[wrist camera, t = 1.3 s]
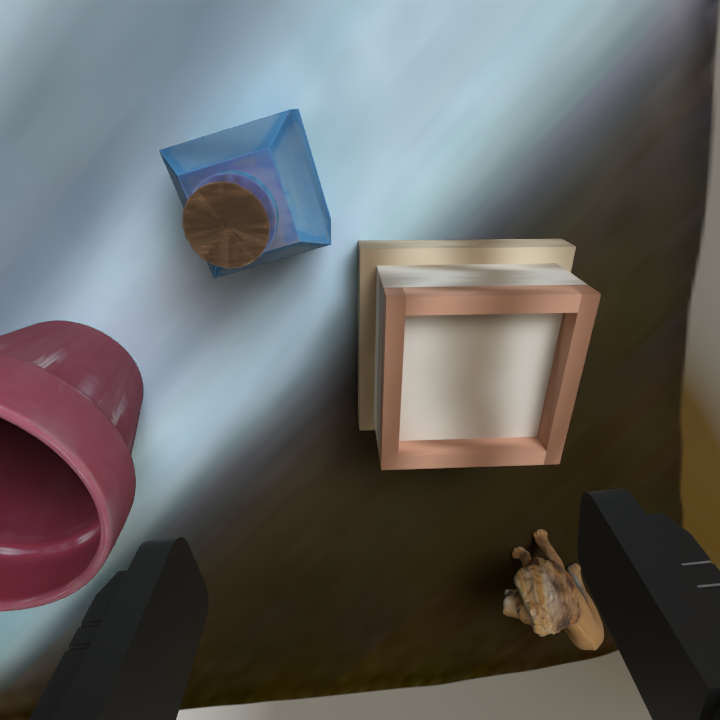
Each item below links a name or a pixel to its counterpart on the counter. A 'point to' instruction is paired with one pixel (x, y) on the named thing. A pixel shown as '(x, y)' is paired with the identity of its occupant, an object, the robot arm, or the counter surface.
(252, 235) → the perfume bottle
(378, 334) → the pedestal
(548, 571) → the lion figurine
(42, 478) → the plant pot
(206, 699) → the counter surface
